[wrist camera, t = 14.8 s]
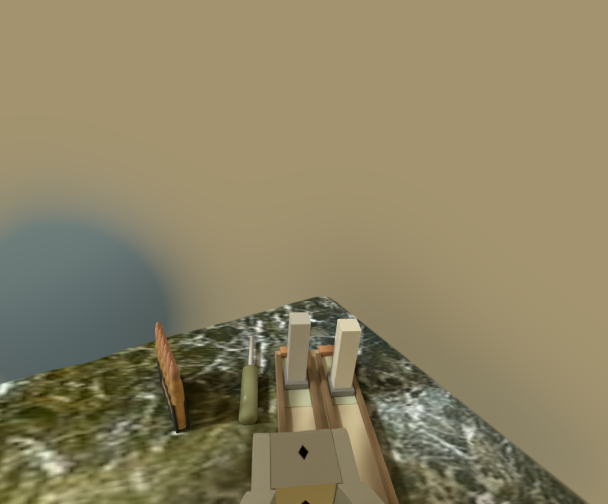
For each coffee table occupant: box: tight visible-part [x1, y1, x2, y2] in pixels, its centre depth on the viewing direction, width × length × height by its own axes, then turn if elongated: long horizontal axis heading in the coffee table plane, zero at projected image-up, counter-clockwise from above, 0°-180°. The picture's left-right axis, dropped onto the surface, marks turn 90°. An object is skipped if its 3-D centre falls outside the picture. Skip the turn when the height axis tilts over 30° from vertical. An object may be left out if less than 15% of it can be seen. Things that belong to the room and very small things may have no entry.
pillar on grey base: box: [284, 312, 311, 389], centre depth 49 cm, size 4×4×12 cm
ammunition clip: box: [155, 322, 190, 433], centre depth 45 cm, size 11×2×12 cm, turn 33°
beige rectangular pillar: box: [327, 319, 361, 397], centre depth 48 cm, size 4×4×12 cm
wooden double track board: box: [275, 345, 399, 504], centre depth 45 cm, size 13×29×2 cm, turn 7°
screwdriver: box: [239, 337, 258, 425], centre depth 53 cm, size 17×3×3 cm, turn 7°
